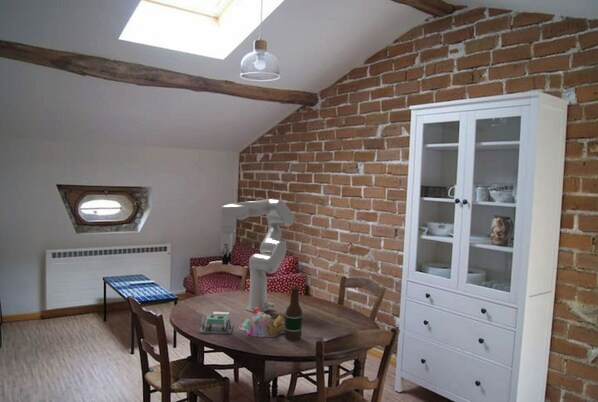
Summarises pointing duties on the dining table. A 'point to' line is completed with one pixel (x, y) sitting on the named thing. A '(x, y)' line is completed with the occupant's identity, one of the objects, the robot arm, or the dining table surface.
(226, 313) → the white rectangular block
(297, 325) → the beer bottle
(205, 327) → the chassis
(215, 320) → the board
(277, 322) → the pastel sphere sculpture
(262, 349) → the dining table surface
